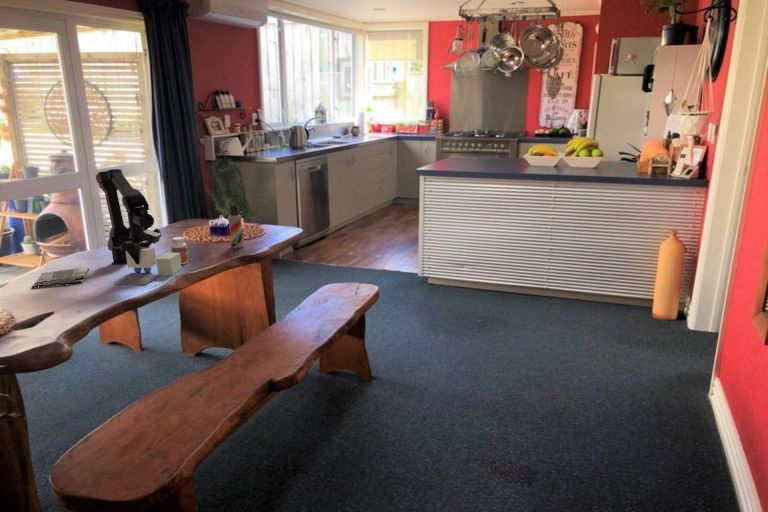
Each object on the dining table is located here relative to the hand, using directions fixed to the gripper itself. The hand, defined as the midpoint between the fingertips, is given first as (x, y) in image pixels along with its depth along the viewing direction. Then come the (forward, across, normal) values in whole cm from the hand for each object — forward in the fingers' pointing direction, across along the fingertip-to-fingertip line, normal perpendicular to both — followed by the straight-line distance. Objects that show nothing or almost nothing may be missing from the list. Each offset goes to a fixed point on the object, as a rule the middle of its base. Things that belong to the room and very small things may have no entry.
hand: (141, 261), depth 228 cm
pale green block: (+4, +1, -11) cm, 12 cm away
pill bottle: (+5, +14, -10) cm, 18 cm away
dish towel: (+5, -10, +28) cm, 30 cm away
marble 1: (+5, 0, +2) cm, 5 cm away
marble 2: (+5, 0, -2) cm, 5 cm away
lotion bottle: (+5, +42, -26) cm, 50 cm away
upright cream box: (+2, 0, 0) cm, 2 cm away
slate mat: (+4, -10, -3) cm, 11 cm away
